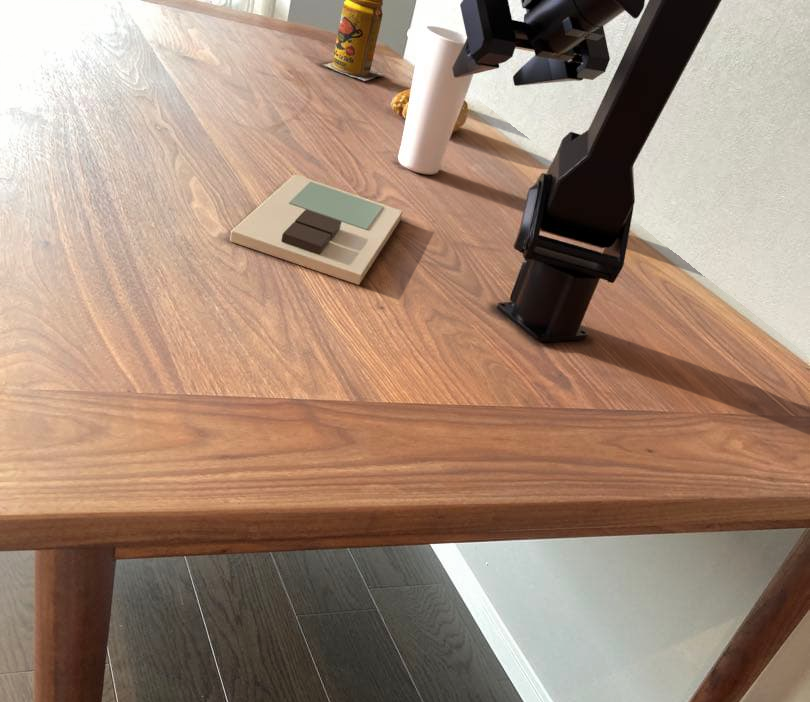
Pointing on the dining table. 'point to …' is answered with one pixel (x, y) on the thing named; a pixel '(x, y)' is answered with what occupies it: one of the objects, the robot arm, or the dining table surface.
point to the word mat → (319, 228)
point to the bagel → (402, 101)
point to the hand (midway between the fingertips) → (485, 77)
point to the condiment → (357, 38)
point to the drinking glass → (433, 101)
